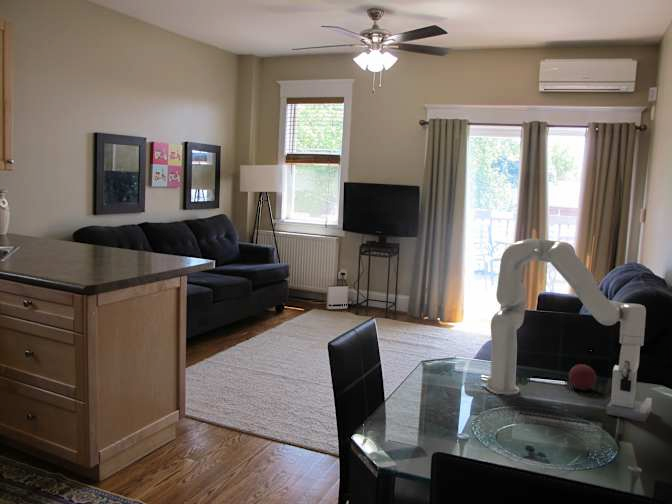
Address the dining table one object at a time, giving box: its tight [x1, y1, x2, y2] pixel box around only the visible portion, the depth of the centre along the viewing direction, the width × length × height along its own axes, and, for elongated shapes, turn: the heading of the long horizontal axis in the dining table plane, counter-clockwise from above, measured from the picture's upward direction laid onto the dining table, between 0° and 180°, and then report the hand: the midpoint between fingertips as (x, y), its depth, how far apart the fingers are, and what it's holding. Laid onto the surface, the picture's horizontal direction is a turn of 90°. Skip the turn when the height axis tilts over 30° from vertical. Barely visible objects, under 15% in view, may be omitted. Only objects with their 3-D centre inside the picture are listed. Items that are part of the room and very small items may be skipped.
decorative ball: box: [568, 363, 597, 391], centre depth 233 cm, size 10×10×10 cm
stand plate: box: [605, 397, 652, 423], centre depth 208 cm, size 12×12×5 cm
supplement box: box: [610, 364, 638, 408], centre depth 209 cm, size 7×7×13 cm
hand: (628, 387), depth 208 cm, fingers open, 9 cm apart
